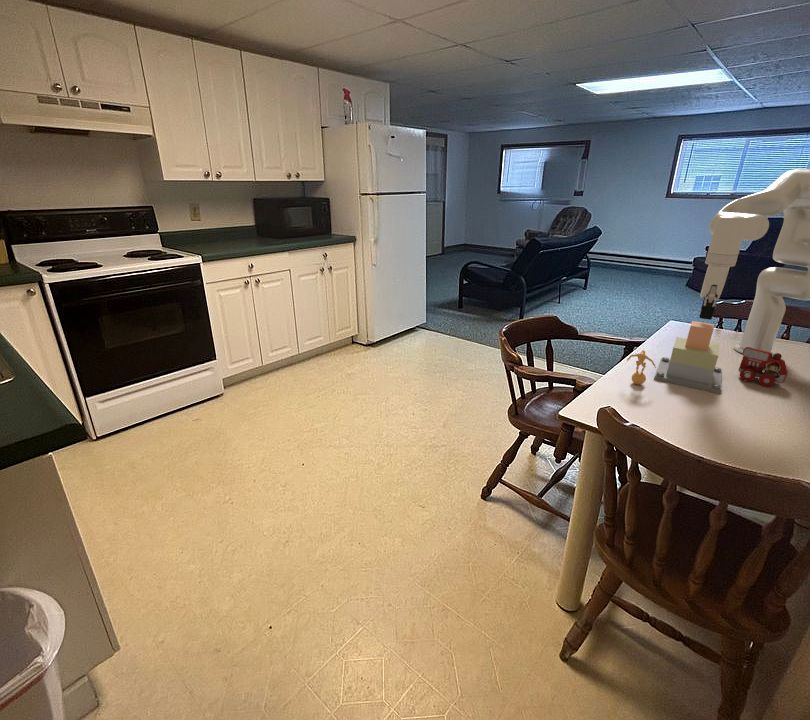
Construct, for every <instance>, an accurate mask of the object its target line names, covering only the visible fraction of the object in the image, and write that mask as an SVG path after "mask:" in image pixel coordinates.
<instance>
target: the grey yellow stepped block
mask: <svg viewBox="0 0 810 720" xmlns="http://www.w3.org/2000/svg"><path fill="white" fill-rule="evenodd" d="M686 341H687V338H685V337H679V336H677V337H675V342H674V344H673V348H672V351H671V355H670V358H669V357H665V356H664V357H662V358H661V359H660V361H659V363H658V366H657V369H656V371H655V374H654V378H653V379H654V380H655V379H656V380H655V381H660V382H664V381H665V382H664V383H669V382H670V383H669V384H673V383H674V384H675V385H677V386H678V385H679V386H684V387H687V386H688V387H687V388H692V387H693V388H692V389H696V388H697V389H696V390H701V389H702V390H701V391H705V390H706V391H705V392H710V391H711V392H710V393H716V394H719V395H720V394H721V391H722V380H723V370H722V368H721V367H718V366H717V367H716V365H717V362H718V359H719V355H720V344H719V343H714V342H710V343H709V346H708V350H701V349H696V348H690V347H685V345H686Z"/></svg>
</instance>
